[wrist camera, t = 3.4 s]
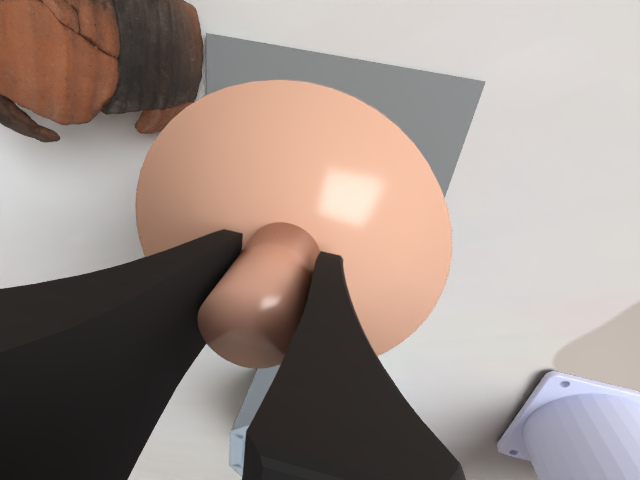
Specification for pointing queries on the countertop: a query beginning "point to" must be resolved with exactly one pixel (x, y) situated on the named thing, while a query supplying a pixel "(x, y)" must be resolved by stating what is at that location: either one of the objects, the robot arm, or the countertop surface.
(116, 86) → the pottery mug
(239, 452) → the grey octagonal bowl
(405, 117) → the mat
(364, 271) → the lid
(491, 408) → the countertop surface
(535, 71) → the countertop surface
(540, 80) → the countertop surface
